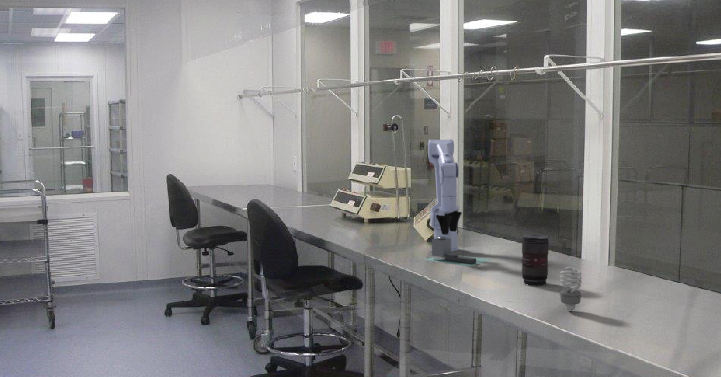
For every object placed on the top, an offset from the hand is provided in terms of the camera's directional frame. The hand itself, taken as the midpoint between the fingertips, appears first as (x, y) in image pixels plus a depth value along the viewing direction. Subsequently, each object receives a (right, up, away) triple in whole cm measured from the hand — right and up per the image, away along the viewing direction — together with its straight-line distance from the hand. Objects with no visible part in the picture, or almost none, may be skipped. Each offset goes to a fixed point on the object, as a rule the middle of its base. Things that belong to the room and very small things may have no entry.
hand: (449, 232), depth 275 cm
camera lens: (+22, -14, -41) cm, 48 cm away
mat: (+3, -10, -2) cm, 11 cm away
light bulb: (+24, -17, -74) cm, 79 cm away
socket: (-3, -8, -1) cm, 9 cm away
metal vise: (+1, -10, -4) cm, 11 cm away
